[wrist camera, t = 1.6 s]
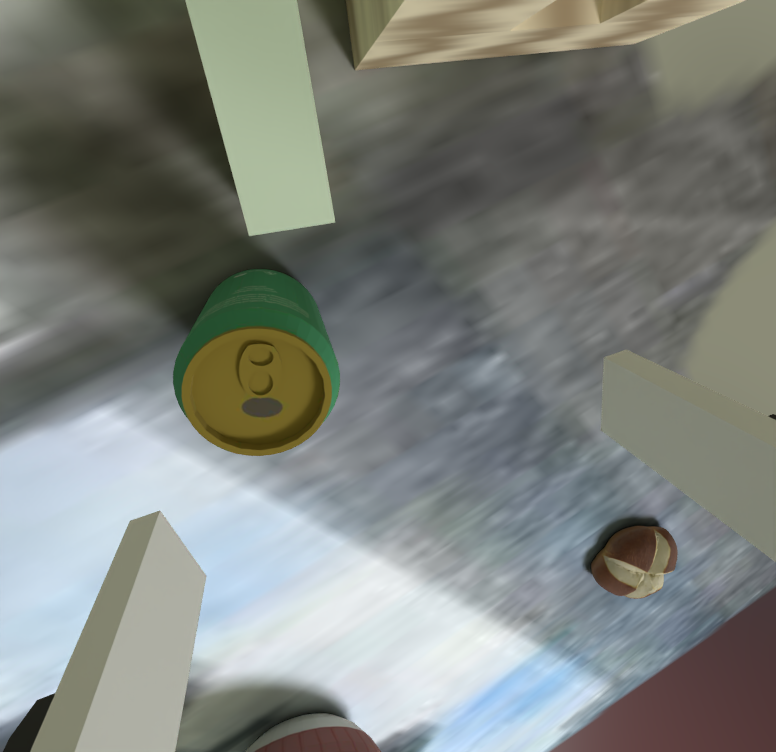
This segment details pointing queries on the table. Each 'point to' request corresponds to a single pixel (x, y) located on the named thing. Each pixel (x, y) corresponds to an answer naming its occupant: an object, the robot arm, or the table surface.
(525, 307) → the table surface
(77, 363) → the table surface
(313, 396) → the beverage can
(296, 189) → the pale green rectangular block
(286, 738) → the bowl
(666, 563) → the bread
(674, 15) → the wooden block structure
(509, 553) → the table surface
